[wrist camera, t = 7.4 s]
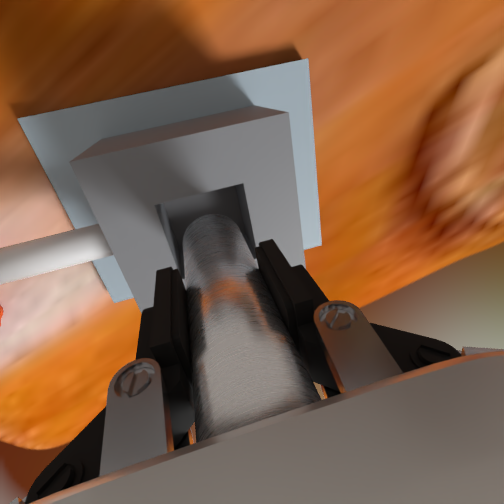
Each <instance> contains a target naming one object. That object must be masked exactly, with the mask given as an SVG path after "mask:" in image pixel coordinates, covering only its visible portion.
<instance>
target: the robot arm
mask: <svg viewBox="0 0 504 504" xmlns="http://www.w3.org/2000/svg"><path fill="white" fill-rule="evenodd" d="M255 253H256V258H257V263H258V268H259V271H260V273H261V275H262V277H263V279H264V281H265V283H266V286H267V288H268V290H269V292H270V294H271V296H272V298H273V300H274V302H275V304H276V306H277V309H278V311H279V313H280V315H281V317H282V319H283V321H284V323H285V325H286V327H287V329H288V332H289V334H290V336H291V338H292V339H293V342H294V344H295V346H296V348H297V350H298V352H299V354H300V356H301V358H302V360H303V362H304V364H305V367H306V369H307V371H308V373H309V375H310V377H311V379H312V381H313V382H316V383H318V384H320V385H321V389H322V392H323V395H324V397H325V399H324V400H321V401H318V402H315V403H312V404H309V405H306V406H303V407H300V408H297V409H294V410H291V411H288V412H285V413H282V414H279V415H276V416H273V417H271V418H268V419H265V420H262V421H259V422H256V423H253V424H250V425H247V426H244V427H241V428H238V429H235V430H232V431H229V432H226V433H224V434H221V435H218V436H215V437H212V438H209V439H206V440H203V441H200V442H197V443H194V442H193V436H192V432H191V429H190V427H191V426H192V425H193V423H194V422H195V415H194V400H193V386H192V371H191V355H190V340H189V326H188V312H187V297H186V289H185V286H184V283H183V280H182V278H181V275H180V272H179V270H178V269H174V270H173V268H172V267H167V268H164V269H160V270H157V271H156V281H155V292H154V304H153V307H150V308H146V309H144V310H143V311H142V316H141V324H140V331H139V338H138V346H137V353H136V360H134V361H132V362H130V363H128V364H126V365H125V366H124V367H122V368H121V369H120V370H119V371H118V372H117V373H116V374H115V375H114V377H113V378H112V380H111V382H110V384H109V388H108V395H107V405H106V407H105V408H104V409H103V410H102V411H101V412H100V413H99V414H98V415H97V416H96V417H95V418H94V419H93V420H92V421H91V422H90V423H89V424H88V425H87V426H86V427H85V428H84V429H83V430H82V431H81V432H80V433H79V434H78V435H77V436H76V437H75V438H74V439H73V440H72V442H71V443H70V444H69V445H68V446H67V447H66V448H65V449H64V450H63V451H62V452H61V453H60V454H59V455H58V456H57V457H56V458H55V459H54V460H53V461H52V462H51V463H50V464H49V465H48V466H47V467H46V468H45V469H44V470H43V471H42V472H41V474H40V475H39V476H38V477H37V478H36V480H35V481H34V483H33V485H32V486H31V488H30V490H29V492H28V495H27V497H25V498H24V499H23V500H21V499H20V498H19V497H17V498H16V499H15V500H13V501H12V502H11V503H9V504H504V349H490V348H475V347H463V348H462V351H458V350H456V349H455V348H453V347H452V346H450V345H449V344H447V343H445V342H442V341H439V340H437V339H433V338H429V337H425V336H421V335H417V334H413V333H409V332H405V331H401V330H397V329H393V328H389V327H385V326H381V325H377V324H373V323H369V322H368V320H367V319H366V317H365V316H364V314H363V313H362V311H360V309H359V308H358V307H357V306H355V305H354V304H352V303H349V302H346V301H338V300H335V301H329V300H328V299H327V297H326V296H325V295H324V293H323V292H322V291H321V289H320V288H319V287H318V285H317V284H316V282H315V281H314V280H313V278H312V277H311V276H310V274H309V273H308V272H307V270H306V269H305V268H304V266H303V265H301V264H300V265H297V266H293V267H291V265H290V264H289V262H288V261H287V259H286V258H285V256H284V255H283V253H282V252H281V250H280V249H279V247H278V246H277V244H276V243H275V241H274V240H273V239H270V240H266V241H263V242H259V246H258V247H255Z"/></svg>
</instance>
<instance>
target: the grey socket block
mask: <svg viewBox="0 0 504 504" xmlns="http://www.w3.org/2000/svg"><path fill="white" fill-rule="evenodd" d="M18 121H19V123H20V125H21V127H22V129H23V131H24V133H25V135H26V136H27V138H28V140H29V142H30V144H31V146H32V148H33V150H34V152H35V154H36V155H37V157H38V159H39V161H40V163H41V165H42V167H43V169H44V171H45V173H46V174H47V176H48V178H49V180H50V182H51V184H52V186H53V188H54V190H55V192H56V193H57V195H58V197H59V199H60V201H61V203H62V205H63V207H64V209H65V210H66V212H67V214H68V216H69V218H70V220H71V222H72V224H73V226H74V228H75V230H71V231H67V232H63V233H59V234H55V235H51V236H47V237H43V238H39V239H35V240H31V241H27V242H23V243H19V244H15V245H11V246H7V247H3V248H0V285H2V284H5V283H9V282H13V281H17V280H21V279H24V278H28V277H32V276H36V275H40V274H43V273H47V272H51V271H55V270H59V269H62V268H66V267H70V266H74V265H78V264H81V263H85V262H89V261H92V262H93V264H94V266H95V267H96V269H97V271H98V273H99V275H100V277H101V279H102V281H103V283H104V285H105V286H106V288H107V290H108V292H109V294H110V296H111V298H112V300H113V302H114V303H116V302H120V301H123V300H127V299H130V298H134V299H135V301H136V303H137V305H138V307H139V309H140V311H141V313H142V311H143V310H144V309H146V308H150V307H153V304H154V292H155V281H156V271H157V270H160V269H164V268H167V267H172V268H173V270H174V269H178V270H179V272H180V275H181V278H182V280H183V283H184V286H185V289H186V284H185V270H184V255H183V236H184V233H185V231H186V229H187V228H188V226H189V225H190V224H191V223H192V222H193V221H194V220H196V219H197V218H199V217H202V216H205V215H209V214H218V215H223V216H226V217H228V218H230V219H231V220H233V221H234V222H235V223H236V224H237V226H238V227H239V229H240V231H241V233H242V235H243V237H244V239H245V242H246V244H247V246H248V248H249V250H250V252H251V254H252V256H253V258H254V260H255V262H256V264H257V267H258V263H257V258H256V253H255V247H258V246H259V242H263V241H266V240H270V239H273V240H274V241H275V243H276V244H277V246H278V247H279V249H280V250H281V252H282V253H283V255H284V256H285V258H286V259H287V261H288V262H289V264H290V265H291V267H293V266H297V265H300V264H301V265H303V266H304V268H305V269H306V267H305V258H304V250H305V249H309V248H313V247H316V246H320V245H322V242H321V228H320V214H319V200H318V186H317V173H316V159H315V145H314V131H313V117H312V103H311V89H310V76H309V62H308V58H307V59H303V60H298V61H293V62H288V63H283V64H278V65H274V66H269V67H264V68H259V69H254V70H249V71H245V72H240V73H235V74H230V75H225V76H221V77H216V78H211V79H206V80H201V81H196V82H192V83H187V84H182V85H177V86H172V87H168V88H163V89H158V90H153V91H148V92H143V93H139V94H134V95H129V96H124V97H119V98H115V99H110V100H105V101H100V102H95V103H90V104H86V105H81V106H76V107H71V108H66V109H61V110H57V111H52V112H47V113H42V114H37V115H33V116H28V117H23V118H18ZM258 269H259V268H258Z"/></svg>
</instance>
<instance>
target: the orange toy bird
mask: <svg viewBox="0 0 504 504" xmlns="http://www.w3.org/2000/svg"><path fill="white" fill-rule="evenodd" d="M2 315H3V308H2V306H1V305H0V326H1V317H2Z"/></svg>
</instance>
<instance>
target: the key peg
mask: <svg viewBox="0 0 504 504" xmlns="http://www.w3.org/2000/svg"><path fill="white" fill-rule="evenodd" d="M183 255H184V270H185V284H186V297H187V312H188V326H189V340H190V355H191V371H192V386H193V400H194V415H195V429H196V443H197V442H200V441H203V440H206V439H209V438H212V437H215V436H218V435H221V434H224V433H226V432H229V431H232V430H235V429H238V428H241V427H244V426H247V425H250V424H253V423H256V422H259V421H262V420H265V419H268V418H271V417H273V416H276V415H279V414H282V413H285V412H288V411H291V410H294V409H297V408H300V407H303V406H306V405H309V404H312V403H315V402H318V401H321V398H320V396H319V394H318V392H317V389H316V387H315V385H314V383H313V381H312V379H311V377H310V375H309V373H308V371H307V369H306V367H305V364H304V362H303V360H302V358H301V356H300V354H299V352H298V350H297V348H296V346H295V344H294V342H293V339H292V338H291V336H290V334H289V332H288V329H287V327H286V325H285V323H284V321H283V319H282V317H281V315H280V313H279V311H278V309H277V306H276V304H275V302H274V300H273V298H272V296H271V294H270V292H269V290H268V288H267V286H266V283H265V281H264V279H263V277H262V275H261V273H260V271H259V269H258V267H257V264H256V262H255V260H254V258H253V256H252V254H251V252H250V250H249V248H248V246H247V244H246V242H245V239H244V237H243V235H242V233H241V231H240V229H239V227H238V226H237V224H236V223H235V222H234V221H233V220H231V219H230V218H228V217H226V216H223V215H218V214H209V215H205V216H202V217H199V218H197V219H196V220H194V221H193V222H192V223H191V224H190V225H189V226H188V228H187V229H186V231H185V233H184V236H183Z"/></svg>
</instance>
